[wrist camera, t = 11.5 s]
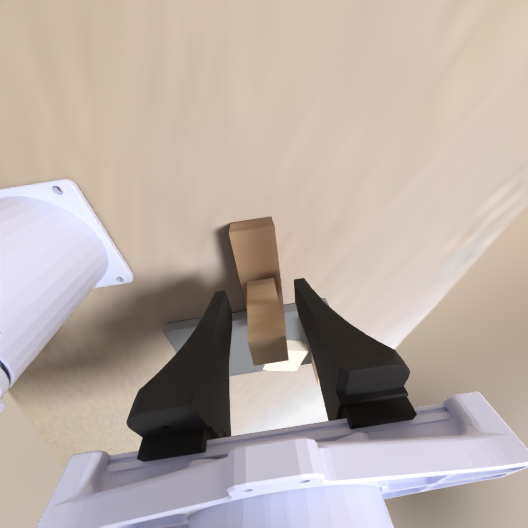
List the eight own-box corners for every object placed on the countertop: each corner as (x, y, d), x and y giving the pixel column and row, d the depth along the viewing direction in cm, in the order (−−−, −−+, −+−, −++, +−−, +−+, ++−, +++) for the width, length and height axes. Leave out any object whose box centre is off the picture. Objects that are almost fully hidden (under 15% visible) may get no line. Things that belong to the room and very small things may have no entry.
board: (197, 373, 27) (192, 403, 24) (166, 323, 21) (155, 356, 18) (321, 353, 27) (331, 382, 24) (325, 298, 21) (338, 327, 18)
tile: (261, 359, 25) (262, 369, 24) (270, 338, 22) (272, 349, 21) (293, 361, 25) (295, 371, 24) (305, 341, 23) (308, 351, 22)
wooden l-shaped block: (252, 321, 20) (255, 404, 14) (230, 222, 15) (219, 280, 9) (283, 316, 20) (301, 397, 14) (271, 216, 15) (290, 269, 9)
